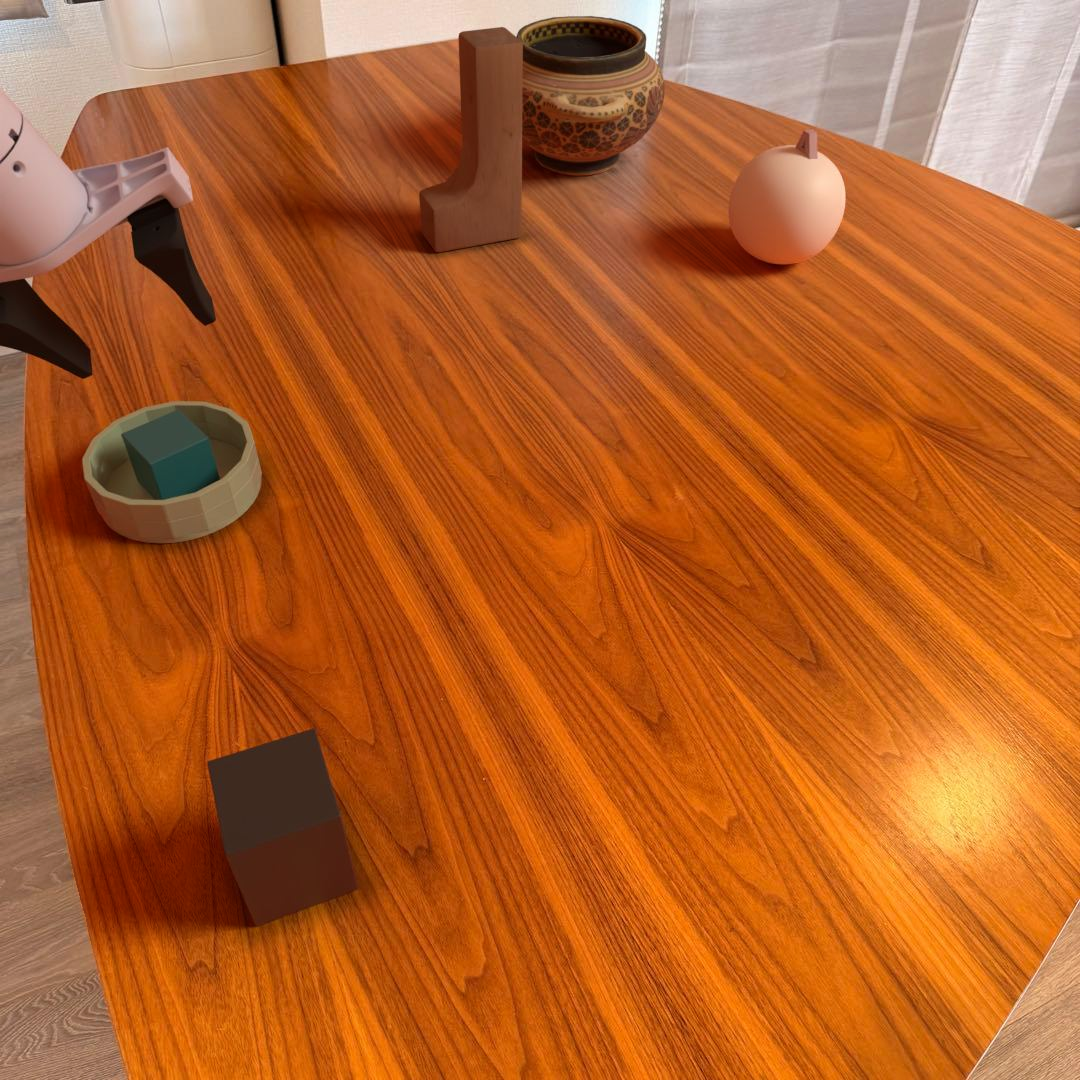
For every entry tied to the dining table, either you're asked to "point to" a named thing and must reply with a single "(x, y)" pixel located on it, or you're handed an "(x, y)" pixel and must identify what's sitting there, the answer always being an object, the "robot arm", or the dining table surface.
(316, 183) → the dining table surface
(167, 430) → the teal block
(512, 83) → the wooden block
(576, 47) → the ceramic bowl
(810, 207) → the ornament
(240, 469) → the dish
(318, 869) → the dark brown block
